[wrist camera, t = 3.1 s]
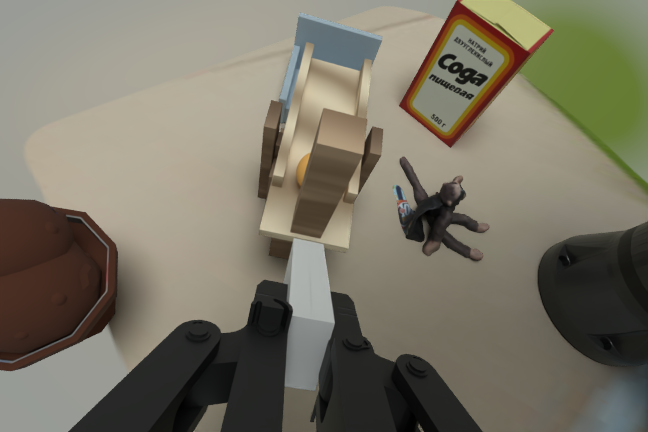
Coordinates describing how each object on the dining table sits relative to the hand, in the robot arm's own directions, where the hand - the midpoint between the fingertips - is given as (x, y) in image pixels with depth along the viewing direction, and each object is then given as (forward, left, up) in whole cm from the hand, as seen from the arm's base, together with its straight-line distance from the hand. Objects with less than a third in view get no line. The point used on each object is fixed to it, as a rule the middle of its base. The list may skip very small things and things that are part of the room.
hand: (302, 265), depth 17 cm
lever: (-6, -14, -9) cm, 17 cm away
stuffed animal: (-21, -10, -19) cm, 31 cm away
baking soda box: (-28, -25, -19) cm, 42 cm away
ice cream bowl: (+16, -4, -19) cm, 25 cm away
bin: (-11, -28, -19) cm, 35 cm away
